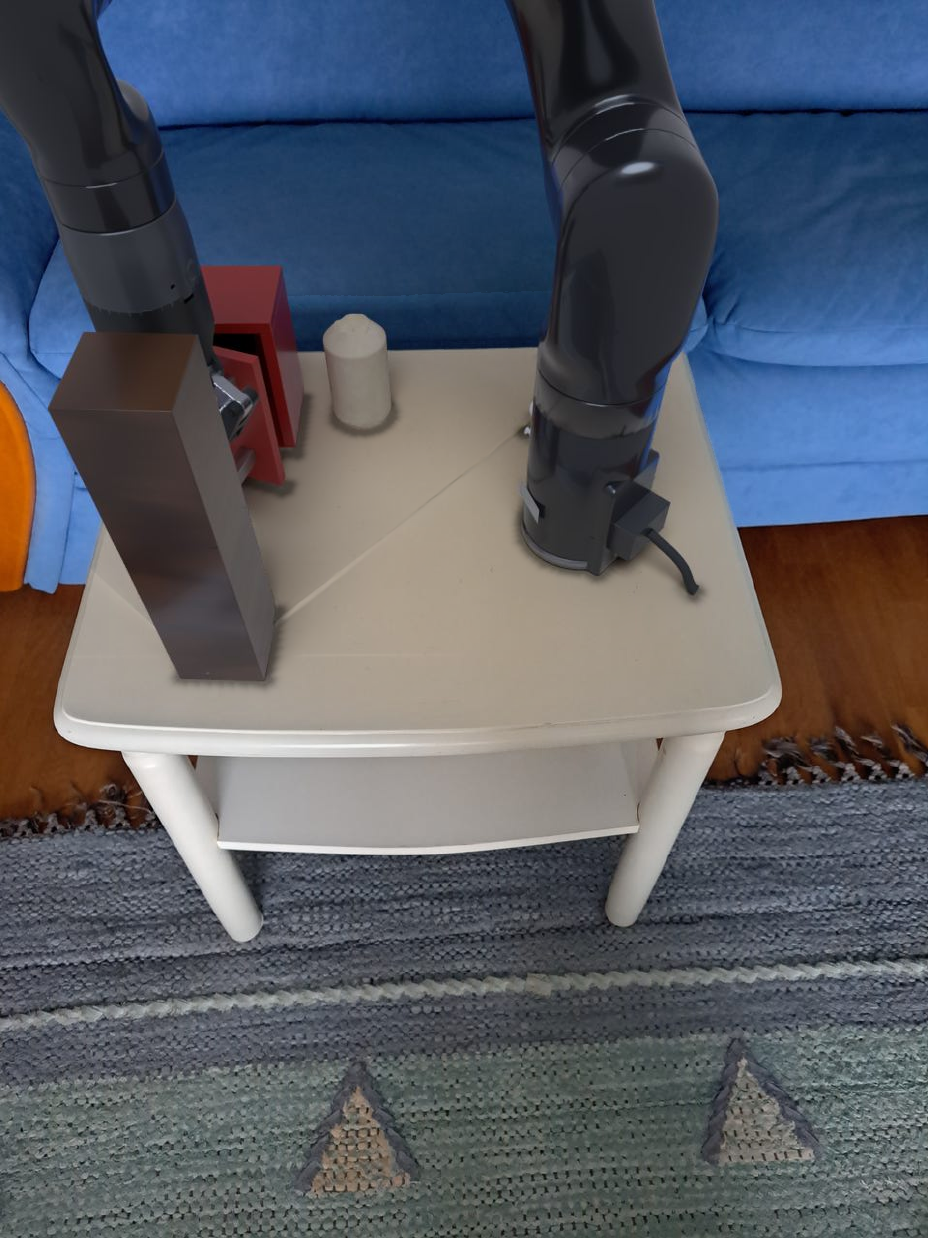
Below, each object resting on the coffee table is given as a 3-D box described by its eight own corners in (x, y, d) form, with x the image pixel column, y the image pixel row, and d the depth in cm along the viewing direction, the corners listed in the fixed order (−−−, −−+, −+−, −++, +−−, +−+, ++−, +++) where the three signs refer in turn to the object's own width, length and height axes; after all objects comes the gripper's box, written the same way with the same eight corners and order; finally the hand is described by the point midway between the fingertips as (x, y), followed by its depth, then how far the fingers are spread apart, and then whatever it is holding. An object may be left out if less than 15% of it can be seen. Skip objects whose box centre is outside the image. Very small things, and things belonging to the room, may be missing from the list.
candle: (383, 436, 81) (375, 346, 73) (327, 428, 81) (312, 338, 73) (398, 398, 84) (391, 308, 76) (343, 390, 85) (331, 300, 77)
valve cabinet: (297, 454, 79) (270, 323, 68) (182, 455, 79) (135, 323, 68) (305, 397, 84) (281, 264, 73) (196, 397, 84) (156, 264, 73)
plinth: (277, 612, 69) (198, 333, 48) (264, 681, 65) (171, 411, 44) (197, 610, 69) (83, 330, 48) (179, 678, 65) (46, 408, 44)
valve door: (252, 537, 73) (215, 411, 62) (143, 507, 75) (89, 379, 64) (287, 484, 77) (258, 355, 66) (183, 456, 79) (137, 327, 68)
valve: (283, 415, 81) (267, 339, 74) (239, 444, 79) (218, 368, 72) (247, 391, 83) (228, 314, 76) (203, 418, 81) (180, 342, 74)
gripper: (13, 273, 54) (106, 473, 68) (188, 335, 50) (248, 534, 64) (95, 215, 58) (167, 416, 72) (263, 269, 54) (305, 470, 68)
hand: (205, 471), depth 68 cm, fingers closed
